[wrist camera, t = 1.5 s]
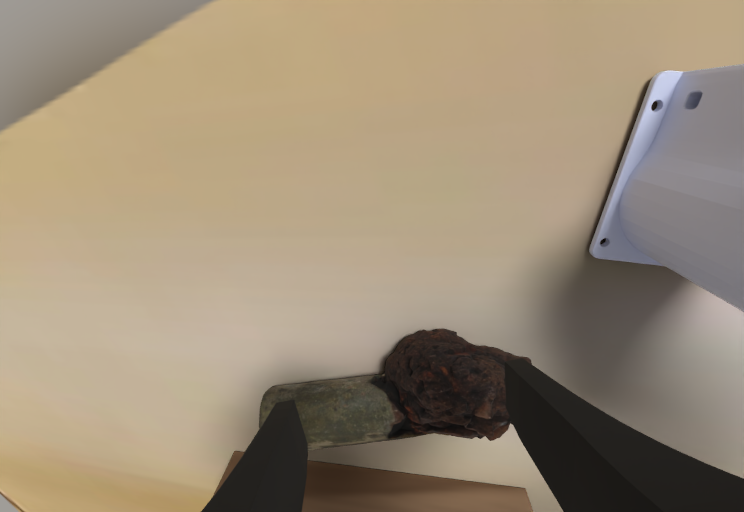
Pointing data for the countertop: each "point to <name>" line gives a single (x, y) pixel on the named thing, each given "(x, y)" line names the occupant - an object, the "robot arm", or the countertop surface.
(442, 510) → the brown wooden plank
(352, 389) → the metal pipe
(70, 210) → the countertop surface
